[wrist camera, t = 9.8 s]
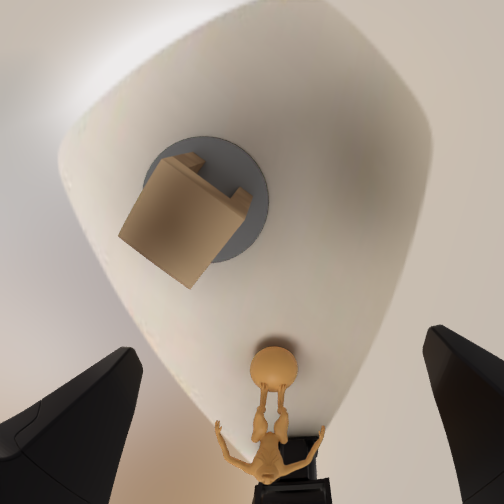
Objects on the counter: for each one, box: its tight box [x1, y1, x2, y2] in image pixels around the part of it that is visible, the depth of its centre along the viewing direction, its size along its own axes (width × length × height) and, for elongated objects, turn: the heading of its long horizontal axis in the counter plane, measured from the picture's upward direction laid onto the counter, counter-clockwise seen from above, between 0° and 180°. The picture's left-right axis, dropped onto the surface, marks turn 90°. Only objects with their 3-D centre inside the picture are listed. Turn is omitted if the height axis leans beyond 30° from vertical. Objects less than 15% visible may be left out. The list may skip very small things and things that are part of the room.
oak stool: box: [118, 152, 253, 289], centre depth 16 cm, size 5×5×6 cm
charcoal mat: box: [143, 137, 268, 263], centre depth 19 cm, size 9×9×1 cm
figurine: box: [215, 346, 325, 485], centre depth 19 cm, size 8×6×12 cm
